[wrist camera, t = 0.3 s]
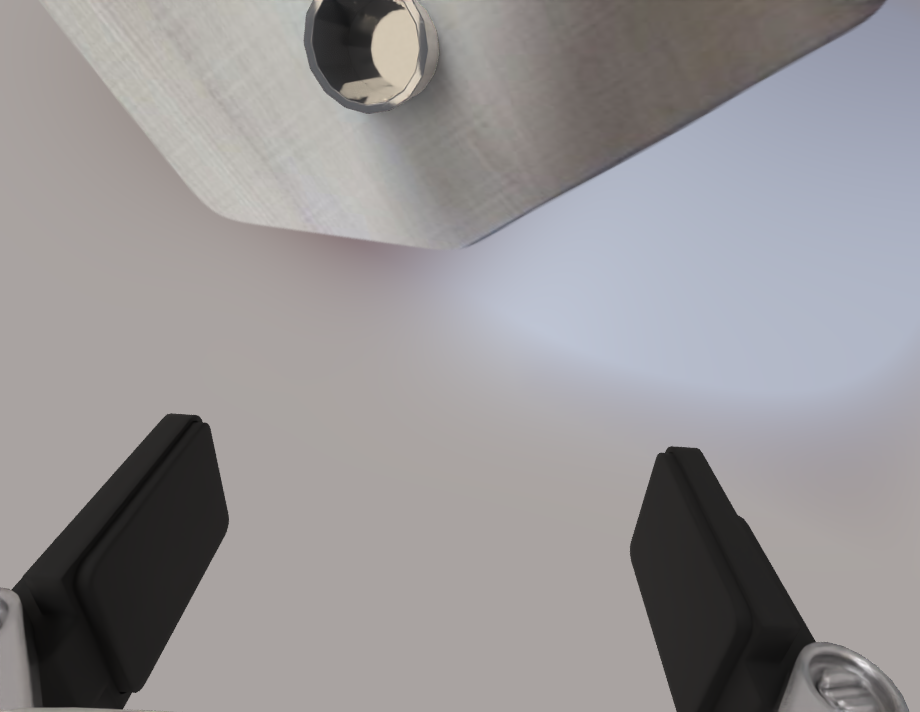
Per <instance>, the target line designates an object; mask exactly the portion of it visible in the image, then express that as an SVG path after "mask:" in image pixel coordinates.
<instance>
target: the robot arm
mask: <svg viewBox="0 0 920 712" xmlns="http://www.w3.org/2000/svg"><path fill="white" fill-rule="evenodd" d="M228 524H229V516H228V510H227V506H226V501H225V496H224V492H223V487H222V482H221V477H220V473H219V468H218V463H217V458H216V453H215V449H214V444H213V439H212V434H211V429H210V426H209V425H208V424H207V423H203V422H202V419H201V418H200V417H199V416H197V415H185V414H167V415H166V416H165V417H164V418H163V419H162V420H161V421H160V422H159V423H158V424H157V426H156V427H155V428H154V429H153V430H152V431H151V432H150V433H149V435H148V436H147V437H146V438H145V439H144V440H143V441H142V442H141V444H140V445H139V446H138V447H137V448H136V449H135V450H134V452H133V453H132V454H131V455H130V456H129V457H128V458H127V459H126V461H125V462H124V463H123V464H122V465H121V466H120V467H119V468H118V469H117V471H116V472H115V473H114V474H113V475H112V476H111V477H110V479H109V480H108V481H107V482H106V483H105V484H104V485H103V486H102V488H101V489H100V490H99V491H98V492H97V493H96V494H95V495H94V497H93V498H92V499H91V500H90V501H89V502H88V503H87V505H86V506H85V507H84V508H83V509H82V510H81V511H80V512H79V513H78V515H77V516H76V517H75V518H74V519H73V520H72V521H71V522H70V524H69V525H68V526H67V527H66V528H65V529H64V530H63V532H62V533H61V534H60V535H59V536H58V537H57V538H56V539H55V540H54V542H53V543H52V544H51V545H50V546H49V547H48V548H47V550H46V551H45V552H44V553H43V554H42V555H41V556H40V558H39V559H38V560H37V561H36V562H35V563H34V564H33V565H32V566H31V568H30V569H29V570H28V571H27V572H26V573H25V574H24V576H23V577H22V579H21V580H20V581H19V582H18V583H17V584H16V585H15V587H14V588H13V589H12V590H10V589H6V588H0V712H167V711H145V710H123V708H124V706H125V704H126V702H127V701H128V699H129V697H130V695H131V693H132V692H133V693H136V692H138V691H140V690H141V689H142V687H143V686H144V684H145V683H146V681H147V679H148V677H149V676H150V674H151V672H152V670H153V668H154V666H155V664H156V662H157V661H158V659H159V657H160V655H161V653H162V651H163V650H164V648H165V646H166V644H167V642H168V640H169V638H170V636H171V635H172V633H173V631H174V629H175V627H176V625H177V623H178V622H179V620H180V618H181V616H182V614H183V612H184V610H185V609H186V607H187V605H188V603H189V601H190V599H191V597H192V596H193V594H194V592H195V590H196V588H197V586H198V584H199V582H200V581H201V579H202V577H203V575H204V573H205V571H206V570H207V568H208V566H209V564H210V562H211V560H212V558H213V557H214V555H215V553H216V551H217V549H218V547H219V545H220V544H221V542H222V540H223V538H224V536H225V534H226V532H227V528H228ZM630 556H631V562H632V565H633V568H634V571H635V575H636V578H637V582H638V585H639V588H640V592H641V595H642V598H643V601H644V605H645V608H646V611H647V615H648V618H649V621H650V624H651V628H652V631H653V635H654V638H655V641H656V645H657V648H658V651H659V655H660V658H661V661H662V664H663V668H664V671H665V675H666V678H667V681H668V684H669V688H670V691H671V694H672V697H673V701H674V704H675V707H676V711H677V712H909V709H908V707H907V705H906V702H905V700H904V698H903V696H902V694H901V693H900V691H899V690H898V689H897V687H896V686H895V685H894V683H893V682H892V680H891V679H890V678H889V677H888V676H887V675H886V674H885V673H884V672H883V671H882V670H880V669H879V668H878V667H877V666H876V665H875V664H873V663H872V662H871V661H869V660H868V659H866V658H865V657H863V656H862V655H860V654H858V653H857V652H854V651H852V650H850V649H848V648H846V647H844V646H841V645H837V644H833V643H828V642H816V641H815V640H814V638H813V636H812V635H811V633H810V631H809V629H808V628H807V626H806V624H805V622H804V621H803V619H802V617H801V615H800V614H799V612H798V610H797V608H796V607H795V605H794V603H793V602H792V600H791V598H790V596H789V595H788V593H787V591H786V589H785V588H784V586H783V584H782V583H781V581H780V579H779V577H778V576H777V574H776V572H775V570H774V569H773V567H772V565H771V563H770V562H769V560H768V558H767V556H766V555H765V553H764V551H763V550H762V548H761V546H760V544H759V543H758V541H757V539H756V537H755V536H754V534H753V532H752V531H751V529H750V527H749V525H748V524H747V523H746V521H745V520H744V519H743V518H742V517H740V516H738V515H737V514H736V512H735V510H734V508H733V507H732V505H731V503H730V501H729V500H728V498H727V496H726V494H725V492H724V491H723V489H722V487H721V485H720V484H719V482H718V480H717V478H716V476H715V475H714V473H713V471H712V469H711V468H710V466H709V464H708V462H707V460H706V459H705V457H704V455H703V453H702V452H701V451H700V449H698V448H687V447H672V446H671V447H668V448H667V450H666V452H665V453H659V454H658V455H657V457H656V461H655V464H654V467H653V471H652V474H651V477H650V480H649V484H648V487H647V490H646V494H645V497H644V500H643V504H642V507H641V510H640V514H639V517H638V521H637V524H636V527H635V531H634V534H633V537H632V541H631V545H630Z"/></svg>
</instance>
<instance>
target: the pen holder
mask: <svg viewBox="0 0 920 712" xmlns="http://www.w3.org/2000/svg"><path fill="white" fill-rule="evenodd" d="M304 46H305V50H306V54H307V58H308V62H309V66H310V69H311V71H312V73H313V74H314V76H315V77H316V79H317V81H318V82H319V84H320V85H321V87H322V88H323V90H324V91H325V92H326V93H327V94H328V95H329V96H331V97H332V98H333V99H334V100H336V101H337V102H338V103H340V104H341V105H342V106H344V107H346V108H348V109H352V110H355V111H359V112H363V113H366V114H371V113H377V112H384V111H390V110H392V109H394V108H396V107H397V106H399V105H401V104H403V103H404V102H406V101H408V100H410V99H411V98H413V97H414V96H415V95H417V94H418V93H420V92H421V91H423V90H424V89H425V88H426V86H427V85H428V83H429V82H430V80H431V79H432V77H433V75H434V73H435V70H436V67H437V63H438V57H439V42H438V36H437V31H436V28H435V26H434V24H433V22H432V19H431V18H430V16H429V14H428V13H427V11H426V9H425V8H424V7H423V6H422V5H421V4H420V3H419V2H417V1H416V0H313V1H312V3H311V5H310V7H309V9H308V11H307V14H306V21H305V32H304Z"/></svg>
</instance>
